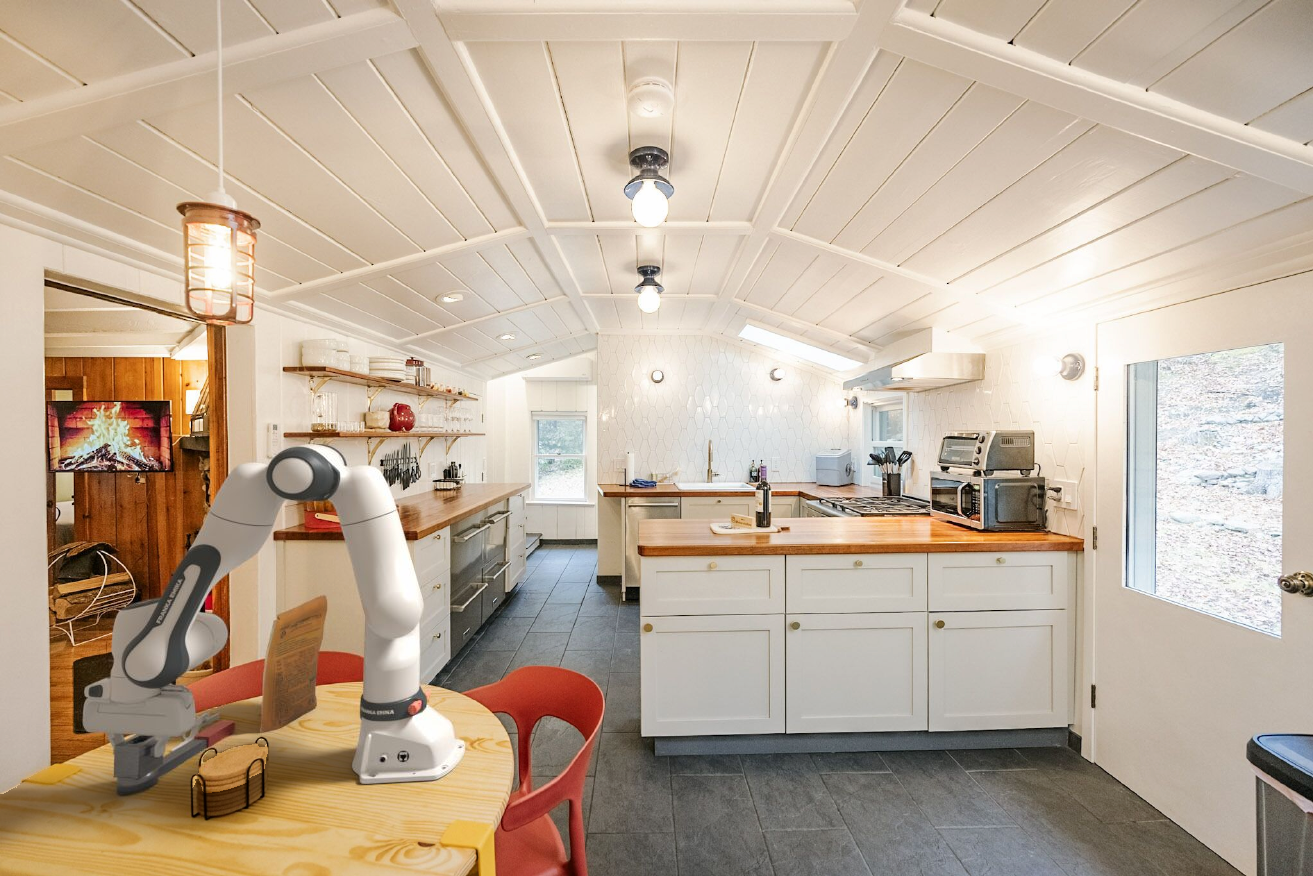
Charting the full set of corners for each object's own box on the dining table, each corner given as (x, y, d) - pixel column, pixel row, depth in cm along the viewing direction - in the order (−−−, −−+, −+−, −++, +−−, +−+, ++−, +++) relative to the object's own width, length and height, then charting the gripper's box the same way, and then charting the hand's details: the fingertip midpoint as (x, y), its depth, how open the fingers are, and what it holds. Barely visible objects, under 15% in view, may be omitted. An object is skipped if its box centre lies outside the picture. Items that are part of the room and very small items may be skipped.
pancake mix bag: (334, 701, 145) (337, 593, 146) (271, 738, 127) (275, 615, 127) (312, 698, 147) (315, 592, 147) (246, 735, 128) (250, 612, 128)
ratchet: (239, 732, 129) (241, 697, 129) (136, 796, 105) (138, 753, 105) (215, 730, 129) (216, 696, 130) (107, 794, 106) (108, 752, 106)
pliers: (132, 743, 121) (195, 711, 136) (132, 750, 121) (195, 717, 136) (173, 746, 120) (232, 713, 135) (173, 753, 120) (232, 720, 135)
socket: (162, 764, 111) (164, 733, 111) (137, 778, 106) (139, 747, 106) (139, 762, 111) (140, 732, 111) (113, 777, 106) (114, 745, 106)
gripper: (205, 678, 111) (203, 748, 111) (110, 674, 112) (108, 743, 112) (176, 692, 105) (174, 766, 105) (76, 687, 106) (73, 760, 106)
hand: (139, 754), depth 108 cm, fingers open, 6 cm apart
